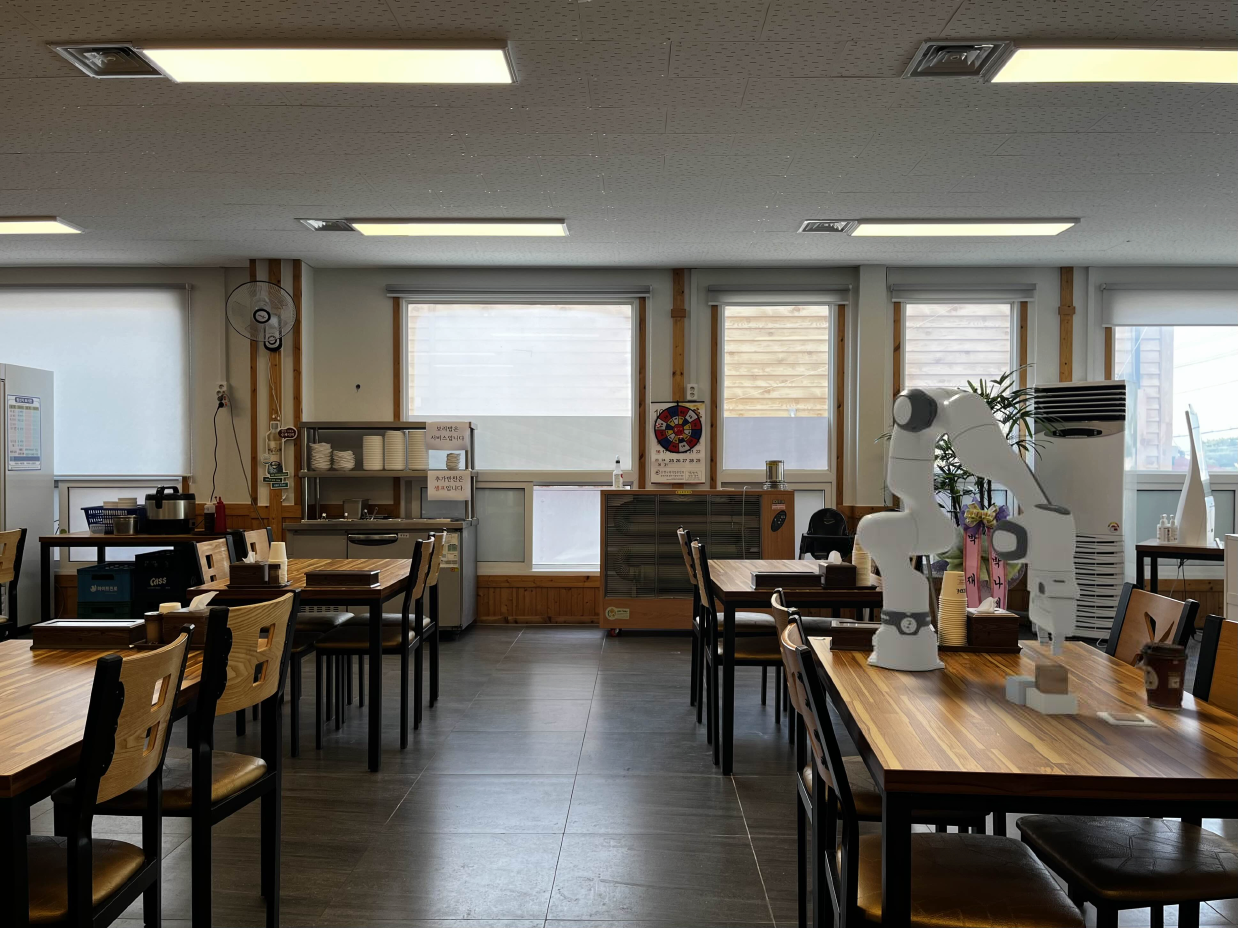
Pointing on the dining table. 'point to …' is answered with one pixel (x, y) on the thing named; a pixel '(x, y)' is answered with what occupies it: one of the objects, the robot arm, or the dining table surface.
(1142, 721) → the tile
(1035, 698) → the plinth block
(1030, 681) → the grey cube
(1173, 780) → the dining table surface
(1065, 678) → the walnut cube
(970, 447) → the robot arm
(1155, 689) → the coffee cup
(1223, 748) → the dining table surface
